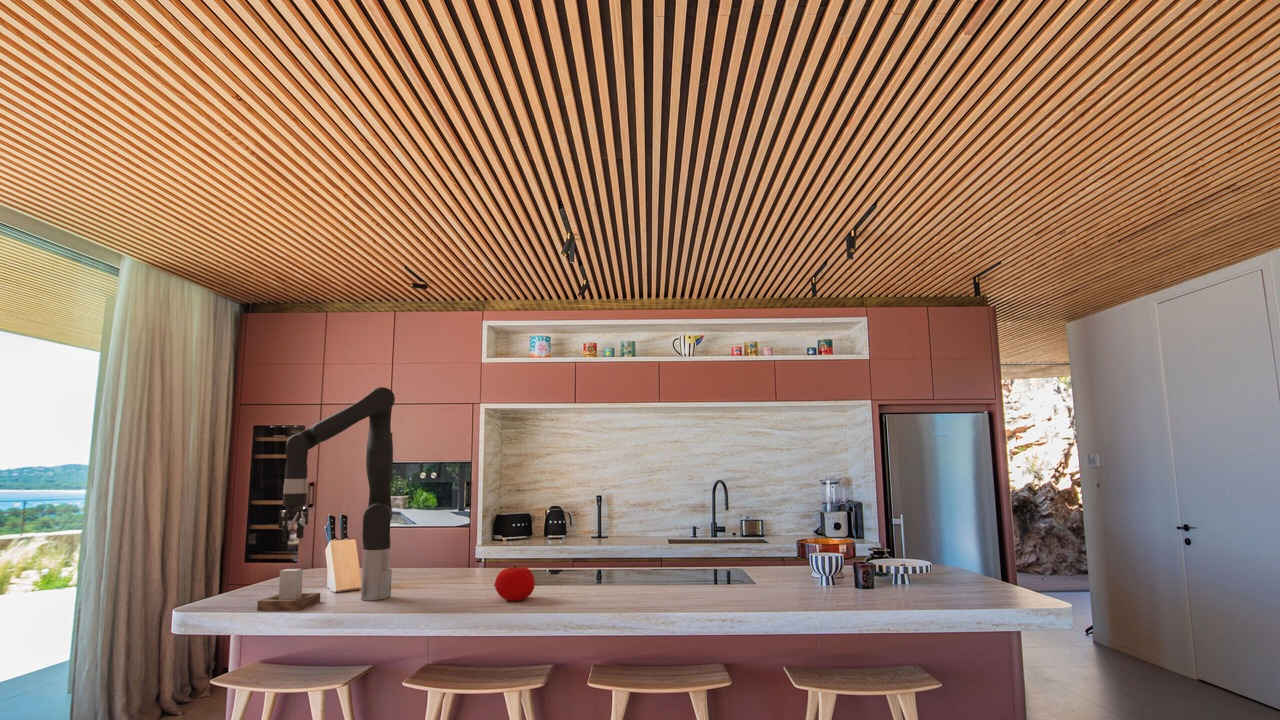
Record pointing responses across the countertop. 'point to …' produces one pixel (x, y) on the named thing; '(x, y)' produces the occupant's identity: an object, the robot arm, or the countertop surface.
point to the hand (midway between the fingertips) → (292, 539)
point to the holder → (288, 602)
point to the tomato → (515, 583)
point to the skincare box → (290, 584)
